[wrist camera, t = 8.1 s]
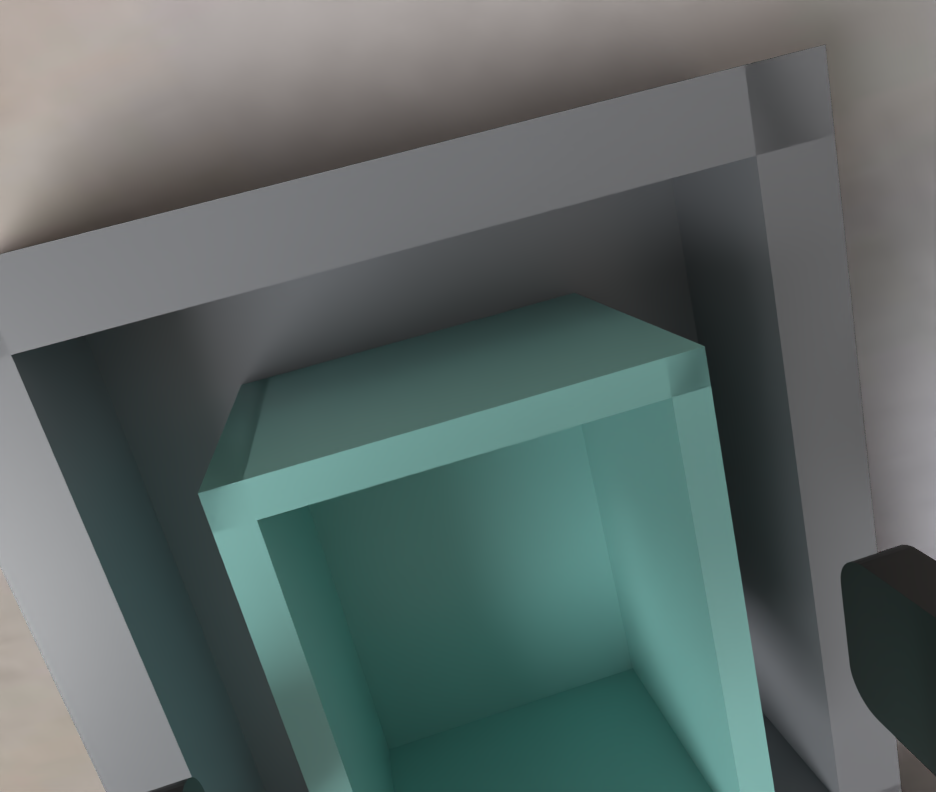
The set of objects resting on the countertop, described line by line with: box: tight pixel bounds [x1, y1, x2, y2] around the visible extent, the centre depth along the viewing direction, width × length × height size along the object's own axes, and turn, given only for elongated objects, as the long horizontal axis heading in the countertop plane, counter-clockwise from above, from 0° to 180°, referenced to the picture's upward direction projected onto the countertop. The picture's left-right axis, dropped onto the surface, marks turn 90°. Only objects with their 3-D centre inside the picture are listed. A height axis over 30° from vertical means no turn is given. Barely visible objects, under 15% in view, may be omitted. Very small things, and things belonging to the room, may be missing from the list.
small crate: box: [198, 293, 775, 792], centre depth 12 cm, size 8×6×5 cm
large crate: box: [0, 45, 902, 792], centre depth 14 cm, size 14×13×4 cm
